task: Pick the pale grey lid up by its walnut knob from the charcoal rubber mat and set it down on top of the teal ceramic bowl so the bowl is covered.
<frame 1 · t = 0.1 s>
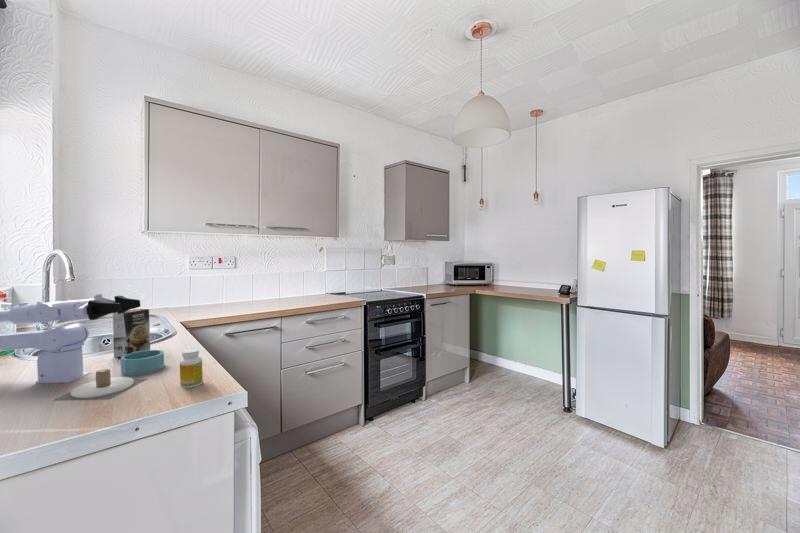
hand: (130, 305, 103), 22 cm above the counter, tool horizontal, fingers open, 7 cm apart
supplement bottle: (191, 385, 98), on the counter
lid: (103, 388, 94), resting on mat
bowl: (143, 370, 110), on the counter
mat: (103, 389, 94), on the counter
coffee box: (133, 354, 127), on the counter
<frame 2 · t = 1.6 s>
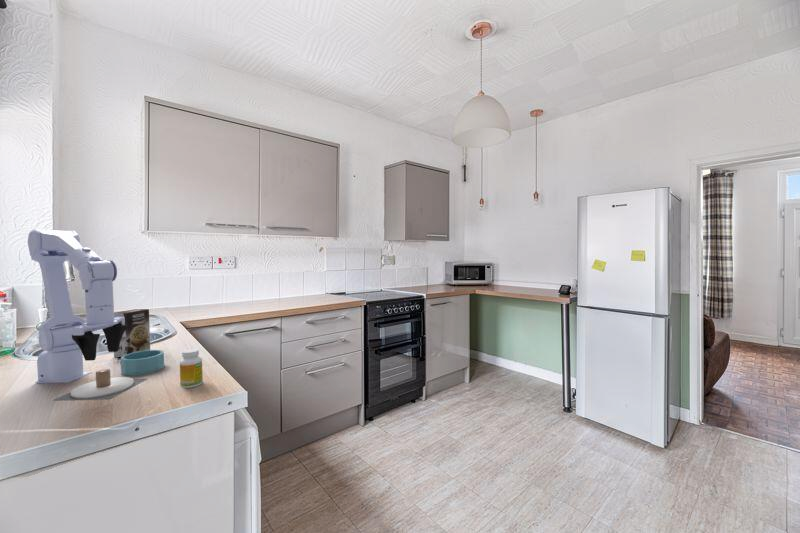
hand: (102, 355, 94), 9 cm above the counter, tool pointing down, fingers open, 7 cm apart
nothing on the counter moved.
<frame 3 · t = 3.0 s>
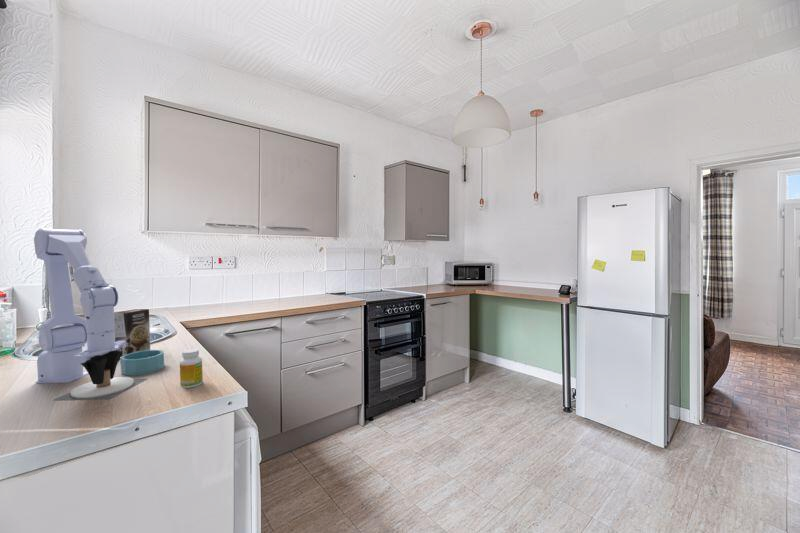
hand: (103, 381, 94), 2 cm above the counter, tool pointing down, fingers closed on lid, 3 cm apart
lid: (103, 388, 94), resting on mat, touching gripper
everything else where it was.
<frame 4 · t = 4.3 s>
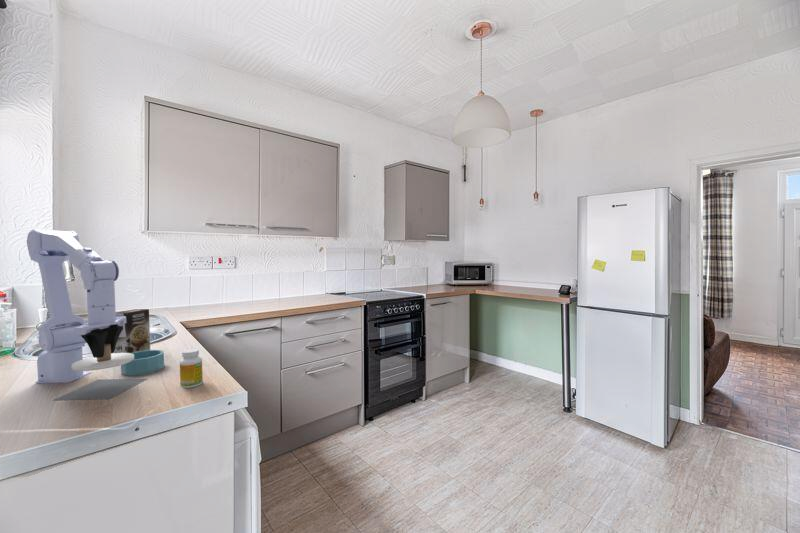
hand: (103, 355, 95), 9 cm above the counter, tool pointing down, fingers closed on lid, 3 cm apart
lid: (104, 362, 95), point 7 cm above the counter, touching gripper
everything else where it was.
when the fingers open (8 cm above the counter, at t = 5.8 s): lid stays where it is, resting on bowl.
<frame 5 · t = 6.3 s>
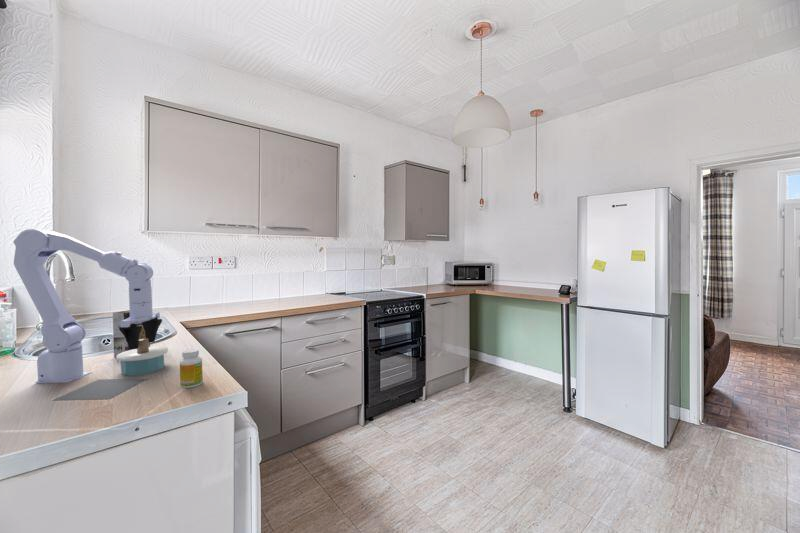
hand: (142, 345, 110), 8 cm above the counter, tool pointing down, fingers open, 7 cm apart
lid: (143, 354, 110), point 5 cm above the counter, touching bowl
everything else where it was.
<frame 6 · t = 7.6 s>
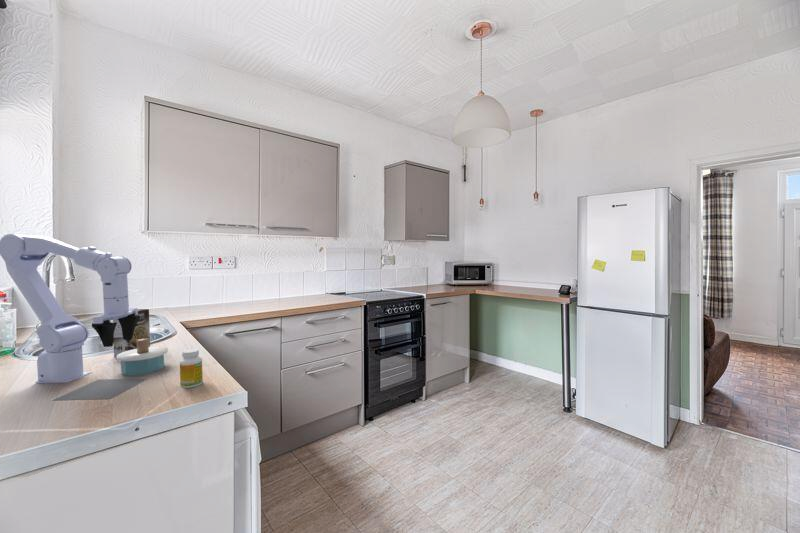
hand: (118, 342, 103), 10 cm above the counter, tool pointing down, fingers open, 7 cm apart
nothing on the counter moved.
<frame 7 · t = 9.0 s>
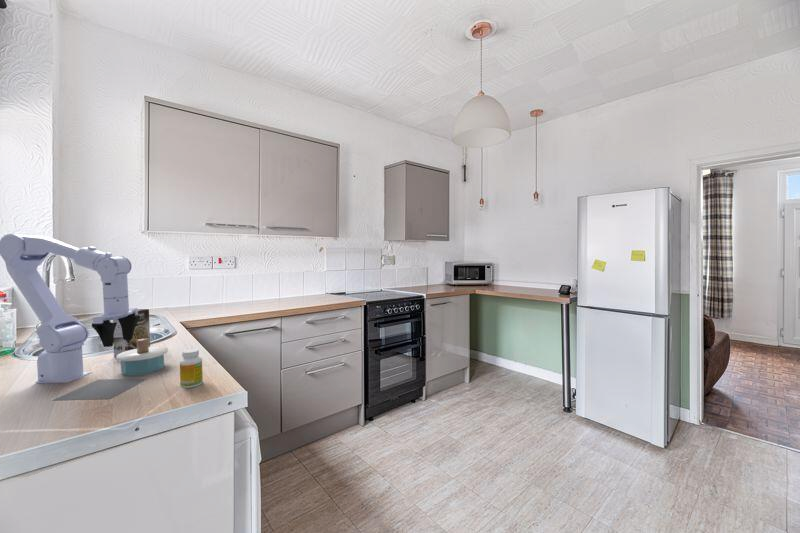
hand: (118, 342, 103), 10 cm above the counter, tool pointing down, fingers open, 7 cm apart
nothing on the counter moved.
at the end: lid 0.1 cm off-centre on the bowl, point 5.0 cm above the bowl's base; lid tilted 0°; the gripper is holding nothing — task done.
